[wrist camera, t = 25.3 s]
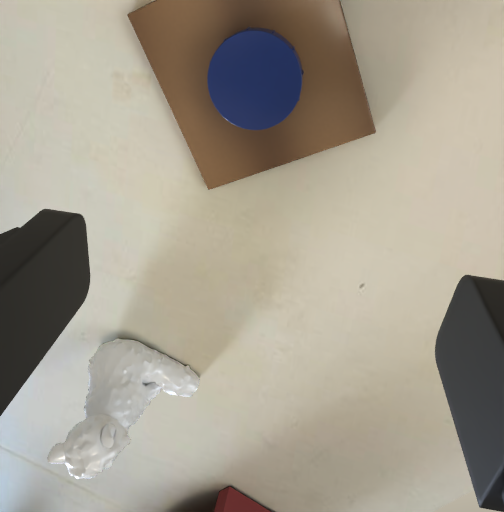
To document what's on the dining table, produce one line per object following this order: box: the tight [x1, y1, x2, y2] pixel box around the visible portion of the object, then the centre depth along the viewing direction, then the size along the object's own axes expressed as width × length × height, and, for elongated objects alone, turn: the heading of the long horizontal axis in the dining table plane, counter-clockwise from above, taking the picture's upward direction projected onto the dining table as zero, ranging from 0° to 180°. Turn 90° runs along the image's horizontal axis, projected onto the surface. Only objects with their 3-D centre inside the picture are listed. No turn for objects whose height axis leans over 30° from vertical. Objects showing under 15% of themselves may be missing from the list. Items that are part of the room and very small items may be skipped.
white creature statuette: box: [47, 339, 200, 479], centre depth 39 cm, size 10×9×12 cm
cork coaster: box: [128, 0, 376, 190], centre depth 30 cm, size 12×12×1 cm
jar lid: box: [207, 27, 304, 130], centre depth 29 cm, size 6×6×2 cm
